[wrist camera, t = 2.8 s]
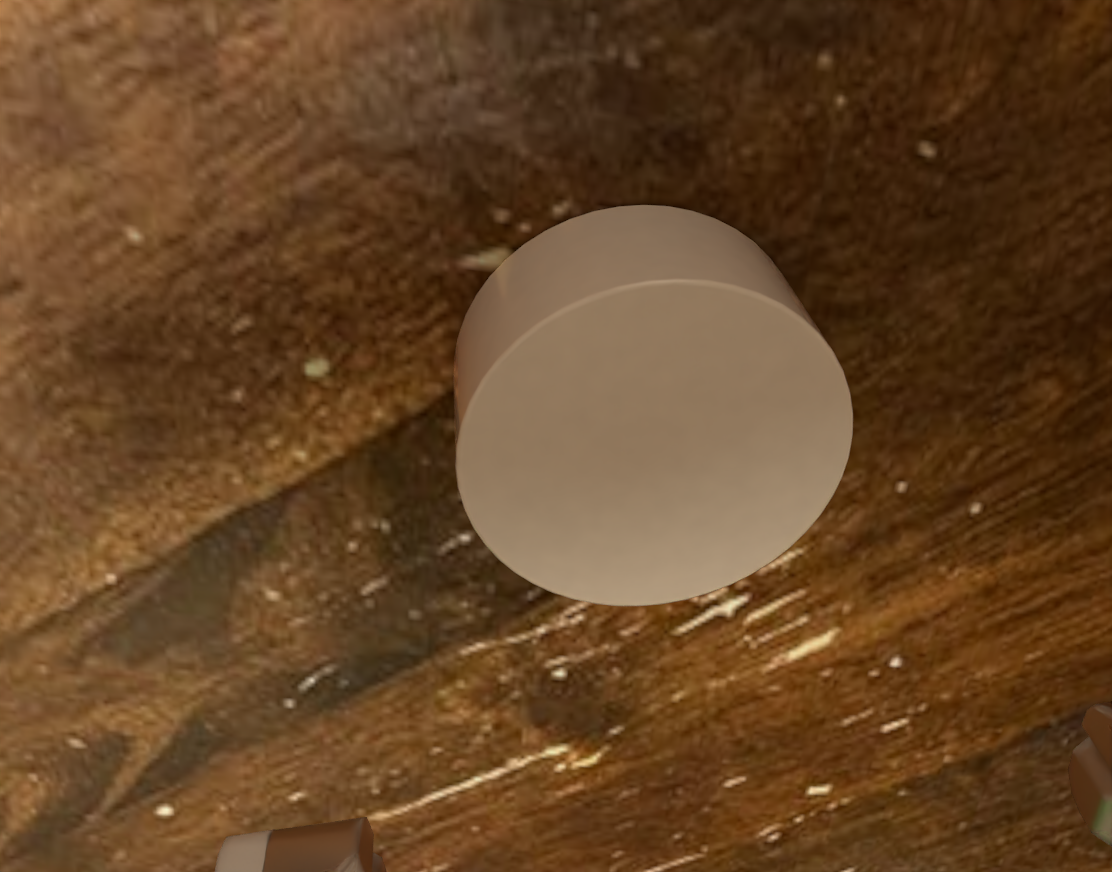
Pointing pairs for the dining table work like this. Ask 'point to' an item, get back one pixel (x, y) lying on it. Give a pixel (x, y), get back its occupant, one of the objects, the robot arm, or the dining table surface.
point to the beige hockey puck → (644, 409)
